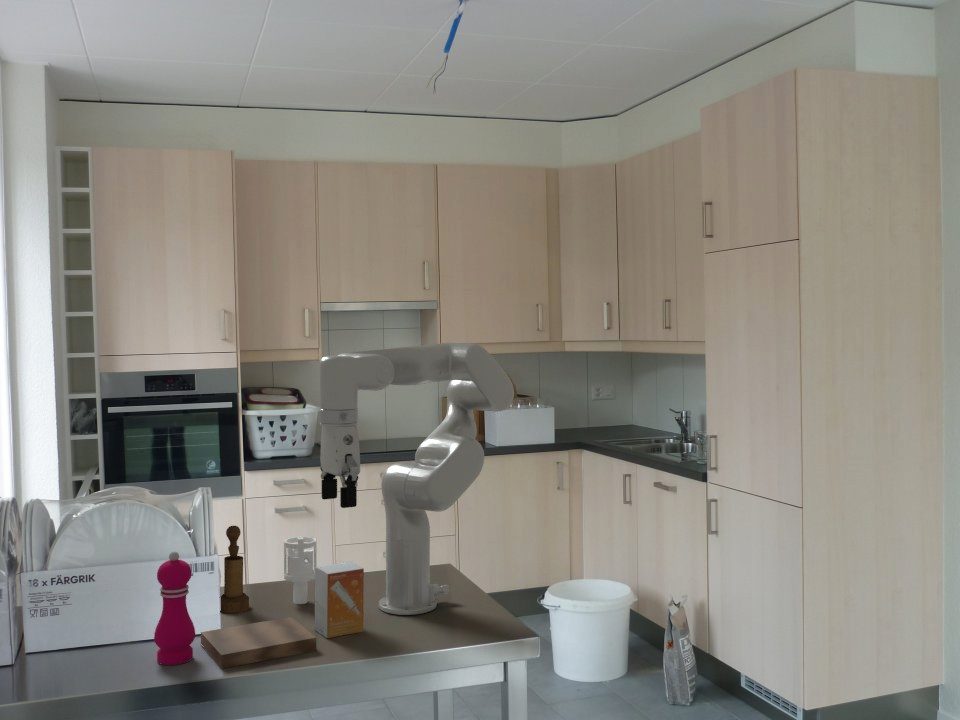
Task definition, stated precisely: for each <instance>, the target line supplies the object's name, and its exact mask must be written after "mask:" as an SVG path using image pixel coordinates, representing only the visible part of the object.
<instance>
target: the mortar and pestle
mask: <svg viewBox="0 0 960 720" xmlns="http://www.w3.org/2000/svg"><path fill="white" fill-rule="evenodd" d="M225 536H226V537H227V538H228V540H229V541H228V542H229V546H228V547H227V549H228V554H229V555H227V556H225V557H223V558H224V561H223V564H224V579H223V582H224V587H223V589H224V590H223V594H222V595H221V596H220V597H221V611H222V612H221V611H220V612H221V613H228V614H235V613H241V612H245V611H247V610H249V608H250V597H249V596H248V595H247V594H246V593H245V592H244V557H243V556H242V555H238V553H239V550H240V546H239V545H238V541H239V538H240V536H241V529H240V527H239V526H238V525H230V526H228V527H227V529H226V531H225Z"/></svg>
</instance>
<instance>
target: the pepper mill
mask: <svg viewBox="0 0 960 720" xmlns="http://www.w3.org/2000/svg"><path fill="white" fill-rule="evenodd" d="M168 558H169V560H166V561H164V562H163V563H162V564H160V566H159V567H158V569H157V573H156V579H157V582H158V583H159V585H161V586H160V588H159V590H160V592H159V595H160V597H162V611H161V615H160V618H159V619H158V622H157V625H156V627H155V631H154V633H153V634H154V636H153V642H154V643H155V645H156V646H157V647H158V648H159V649H158V650H157V652H156V661H157V662H159V663H158V664H160V663H161V664H160V665H163V664H166V666H176V665H175V664H178V665H181V664H180V663H183V664H185V663H184V662H186V663H188V662H189V660H190V659H191V658H192V657H194V656H193V654H194V648H193V646H191V645H192V643H193V642H194V641H195V639H196V629H195V625H194V622H193V620H192V618H191V616H190V613H189V611H188V607H187V595H188V594H189V588H190V587H189V585H188V583H189V582H190V580H191V578H192V568H191V566H190V565H189V563H188V562H187V561H185V560H182V559H180V555H179V553H178V552H177V551H172V552H170V553H169V556H168ZM192 659H193V658H192ZM192 659H191V660H192ZM191 660H190V661H191ZM187 661H188V662H187Z"/></svg>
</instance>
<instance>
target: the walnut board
mask: <svg viewBox="0 0 960 720" xmlns="http://www.w3.org/2000/svg"><path fill="white" fill-rule="evenodd" d="M201 644H202V645H203V646H204V648H205V649H206V650H207V652H208V653H209V654H210V655H211V656H210V655H209V654H208V653H207V654H208V655H209V656H210V658H212V660H213V659H214V660H213V661H214V662H215V663H216V664H217V666H219V668H220V669H227V668H232V667H238V666H242V665H249V664H252V663H258V662H264V661H270V660H274V659H278V658H285V657H289V656H296V655H299V654H304V653H310V652H316V651H317V637H316V636H315V635H314V634H313V633H311V632H310V631H309V630H308V629H306V628H305V627H304V626H303V625H302V624H300V623H299V622H298V621H297V620H295V619H294V618H293V617H291V616H287V617H281V618H275V619H269V620H265V621H260V622H253V623H248V624H242V625H241V624H240V625H236V626H229V627H224V628H218V629H211V630H207V631H206V630H205V631H200V645H201ZM204 648H203V649H204ZM205 649H204V650H205ZM206 650H205V651H206Z"/></svg>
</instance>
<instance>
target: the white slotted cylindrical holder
mask: <svg viewBox="0 0 960 720" xmlns="http://www.w3.org/2000/svg"><path fill="white" fill-rule="evenodd" d="M305 560H307V561H305ZM315 567H317V539H316V538H315V537H313V536H312V537H311V536H304V535H297V536H293V537H288V538H286V539H284V540H283V579H284V580H285V581H287V582H292V585H293V588H292V590H293V592H292V593H293V594H292V595H293V596H292V597H293V600H292V601H293V604H294V605H304V604H307V603H308V582H310V581H313V580H315Z"/></svg>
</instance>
